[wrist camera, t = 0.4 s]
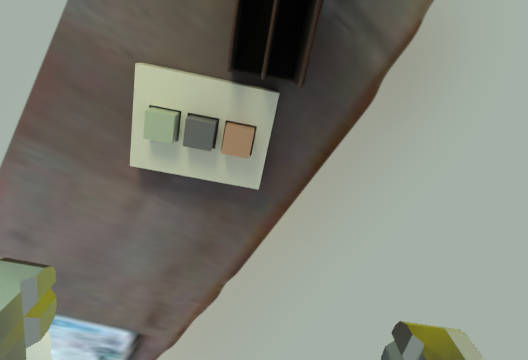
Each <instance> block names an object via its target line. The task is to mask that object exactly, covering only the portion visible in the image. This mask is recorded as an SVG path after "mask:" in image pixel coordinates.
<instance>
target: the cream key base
mask: <svg viewBox="0 0 528 360" xmlns="http://www.w3.org/2000/svg"><path fill="white" fill-rule="evenodd" d="M278 98H279V91H277V90H273V89H268V88H263V87H258V86H254V85H249V84H244V83H239V82H235V81H230V80H225V79H220V78H216V77H211V76H206V75H201V74H197V73H192V72H187V71H182V70H178V69H173V68H168V67H164V66H159V65H154V64H149V63H145V62H143V63H136V64H135V82H134V100H133V118H132V136H131V153H130V166H134V167H139V168H144V169H150V170H155V171H161V172H166V173H171V174H177V175H182V176H188V177H193V178H198V179H204V180H209V181H215V182H220V183H225V184H231V185H236V186H242V187H247V188H253V189H258V190H259V186H260V181H261V177H262V172H263V168H264V163H265V158H266V154H267V149H268V144H269V140H270V135H271V130H272V126H273V121H274V117H275V112H276V107H277V103H278ZM150 107H157V108H162V109H167V110H172V111H176V112H180V117H179V126H178V135H177V139H176V140H175V141H174V142H173V143H172V144H169V143H164V142H159V141H154V140H149V139H143V134H144V120H145V110H146V109H148V108H150ZM190 114H191V115H196V116H201V117H206V118H211V119H216V120H218V121H217V128H216V134H215V141H214V146H213V148H212V150H211V151H206V150H201V149H195V148H190V147H185V146H183V139H184V130H185V121H186V118H187V117H188V116H189V115H190ZM227 122H231V123H236V124H241V125H246V126H251V127H255V129H254V136H253V141H252V146H251V151H250V156H249V159H247V158H242V157H237V156H232V155H227V154H221V152H222V146H223V140H224V134H225V128H226V125H227Z"/></svg>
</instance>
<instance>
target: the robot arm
mask: <svg viewBox="0 0 528 360" xmlns="http://www.w3.org/2000/svg"><path fill="white" fill-rule="evenodd" d="M55 282H56V271H55V268H53V267H52V266H49V265H43V264H38V263H33V262H27V261H22V260H16V259H11V258H2V257H0V360H26V348H27V347H29V346H31V345H33V344H35V343H37V342H38V341H40V340H41V339H42V337H43V336H44V335H45V333H46V332H47V331H48V329H49V327H50V325H51V323H52V321H53V319H54V317H55V313H56V308H57V296H56V295H55V294H54V293H53V291H52V290H51V289H50V288H51V286H52V285H53V284H54V283H55ZM392 335H393V338H394V341H393V342H391V343H390V344H388V345H387V346H385V349H384V351H383V354H382V356H381V360H485V359H484V358H483V356H482V355H481V354H480V352H479V351H478V350H477V348H476V347H475V345H474V344H473V343H472V341H471V340H470V339H469V337H468V336H467V335H466V334H465V333H464V332H462V331H461V330H459V329H452V328H445V327H435V326H428V325H422V324H415V323H409V322H402V321H400V322H399V323H397V324H396V325H395V327H394V329H393V331H392Z"/></svg>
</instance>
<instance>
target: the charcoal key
mask: <svg viewBox="0 0 528 360" xmlns="http://www.w3.org/2000/svg"><path fill="white" fill-rule="evenodd" d="M217 121H218V120H216V119H211V118H206V117H201V116H196V115H191V114H190V115H189V116H188V117H187V118H186V121H185V130H184V139H183V146H185V147H190V148H195V149H201V150H206V151H211V150H212V148H213V146H214V141H215V134H216V128H217Z"/></svg>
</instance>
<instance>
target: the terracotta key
mask: <svg viewBox="0 0 528 360" xmlns="http://www.w3.org/2000/svg"><path fill="white" fill-rule="evenodd" d="M254 129H255V127H251V126H246V125H241V124H236V123H231V122H227V125H226V128H225V134H224V140H223V146H222V152H221V154H227V155H232V156H237V157H242V158H247V159H249V156H250V151H251V146H252V141H253V136H254Z"/></svg>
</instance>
